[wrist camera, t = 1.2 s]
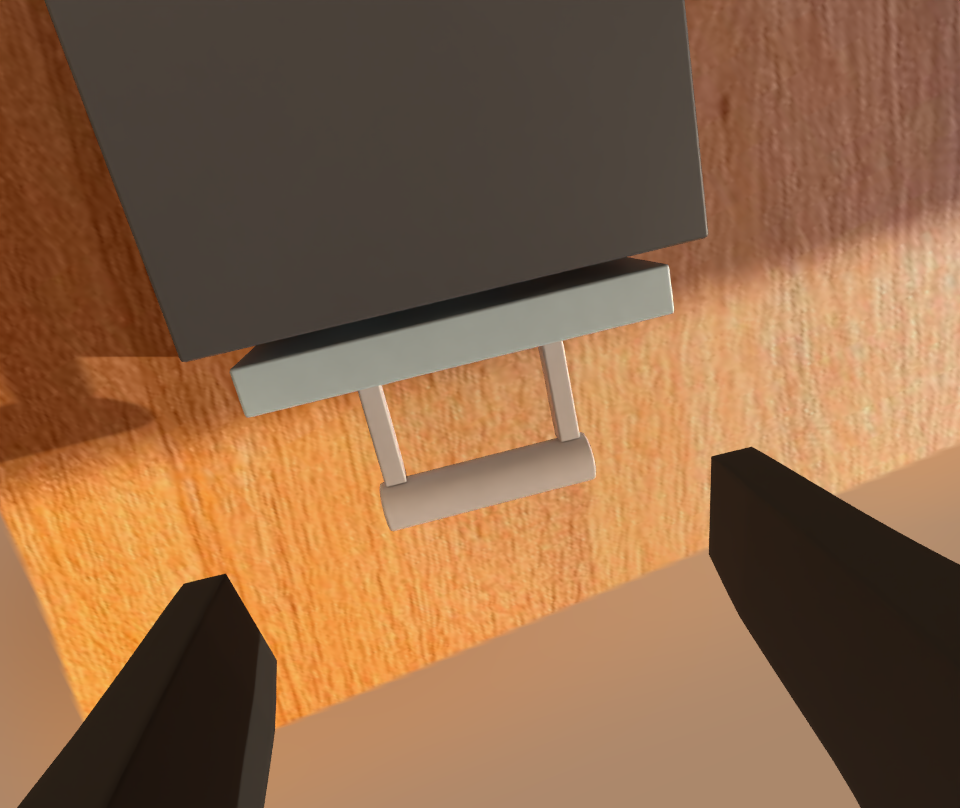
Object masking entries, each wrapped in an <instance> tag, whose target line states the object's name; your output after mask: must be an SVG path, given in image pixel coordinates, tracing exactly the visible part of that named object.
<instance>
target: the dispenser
mask: <svg viewBox="0 0 960 808" xmlns="http://www.w3.org/2000/svg"><path fill="white" fill-rule="evenodd" d="M44 1H45V3H46V6H47V9H48V11H49V14H50V16H51V19H52V22H53V24H54V27H55V30H56V32H57V35H58V38H59V40H60V43H61V46H62V48H63V51H64V54H65V56H66V59H67V61H68V64H69V67H70V69H71V72H72V75H73V77H74V80H75V83H76V85H77V88H78V91H79V93H80V96H81V99H82V101H83V104H84V106H85V109H86V112H87V114H88V117H89V120H90V122H91V125H92V128H93V130H94V133H95V136H96V138H97V141H98V144H99V146H100V149H101V152H102V154H103V157H104V159H105V162H106V165H107V167H108V170H109V173H110V175H111V178H112V181H113V183H114V186H115V189H116V191H117V194H118V197H119V199H120V202H121V204H122V207H123V210H124V212H125V215H126V218H127V220H128V223H129V226H130V228H131V231H132V234H133V236H134V239H135V242H136V244H137V247H138V249H139V252H140V255H141V257H142V260H143V263H144V265H145V268H146V271H147V273H148V276H149V279H150V281H151V284H152V287H153V289H154V292H155V295H156V297H157V300H158V302H159V305H160V308H161V310H162V313H163V316H164V318H165V321H166V324H167V326H168V329H169V332H170V334H171V337H172V340H173V342H174V345H175V347H176V350H177V353H178V355H179V358H180V360H181V361H182V362H189V361H193V360H197V359H201V358H205V357H210V356H214V355H218V354H222V353H226V352H230V351H235V350H239V349H243V348H247V347H251V346H256V345H260V344H264V343H268V342H272V341H276V340H281V339H285V338H289V337H293V336H297V335H302V334H306V333H310V332H314V331H318V330H322V329H327V328H331V327H335V326H339V325H343V324H348V323H352V322H356V321H360V320H364V319H368V318H373V317H377V316H381V315H385V314H389V313H394V312H398V311H402V310H406V309H410V308H414V307H419V306H423V305H427V304H431V303H435V302H440V301H444V300H448V299H452V298H456V297H460V296H465V295H469V294H473V293H477V292H481V291H486V290H490V289H494V288H498V287H502V286H506V285H511V284H515V283H519V282H523V281H527V280H532V279H536V278H540V277H544V276H548V275H553V274H557V273H561V272H565V271H569V270H573V269H578V268H582V267H586V266H590V265H594V264H599V263H603V262H607V261H611V260H615V259H619V258H624V257H628V256H632V255H636V254H640V253H645V252H649V251H653V250H657V249H661V248H665V247H670V246H674V245H678V244H682V243H686V242H691V241H695V240H699V239H703V238H705V237H707V236H708V227H707V217H706V207H705V197H704V187H703V178H702V168H701V158H700V148H699V138H698V129H697V119H696V109H695V99H694V89H693V80H692V70H691V60H690V50H689V40H688V31H687V21H686V11H685V1H684V0H44Z"/></svg>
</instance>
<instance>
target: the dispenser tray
mask: <svg viewBox="0 0 960 808" xmlns="http://www.w3.org/2000/svg"><path fill="white" fill-rule="evenodd" d="M672 313H674V304H673V296H672V288H671V279H670V271H669V266H668V265H667V264H662V263H656V262H651V261H645V260H640V259H634V258H628V257H624V258H619V259H615V260H611V261H607V262H603V263H599V264H594V265H590V266H586V267H582V268H578V269H573V270H569V271H565V272H561V273H557V274H553V275H548V276H544V277H540V278H536V279H532V280H527V281H523V282H519V283H515V284H511V285H506V286H502V287H498V288H494V289H490V290H486V291H481V292H477V293H473V294H469V295H465V296H460V297H456V298H452V299H448V300H444V301H440V302H435V303H431V304H427V305H423V306H419V307H414V308H410V309H406V310H402V311H398V312H394V313H389V314H385V315H381V316H377V317H373V318H368V319H364V320H360V321H356V322H352V323H348V324H343V325H339V326H335V327H331V328H327V329H322V330H318V331H314V332H310V333H306V334H302V335H297V336H293V337H289V338H285V339H281V340H276V341H272V342H268V343H264V344H260V345H256V346H255V347H254V348H253V349H252V350H251V351H250V352H249V353H248V354H247V355H245V356H244V357H243V358H242V359H241V360H240V361H239V362H238V363H237V364H236V365H235V366H234V367H233V368H232V369H230V374H231V377H232V380H233V383H234V386H235V389H236V391H237V394H238V397H239V400H240V403H241V405H242V408H243V411H244V414H245V416H246V417H254V416H258V415H262V414H266V413H270V412H274V411H278V410H282V409H286V408H290V407H294V406H298V405H302V404H306V403H311V402H315V401H319V400H323V399H327V398H331V397H335V396H339V395H343V394H347V393H351V392H355V391H358V393H359V397H360V400H361V404H362V407H363V410H364V414H365V417H366V421H367V424H368V428H369V431H370V434H371V438H372V441H373V445H374V448H375V452H376V455H377V458H378V462H379V465H380V469H381V472H382V476H383V479H384V482H383V483H381V484H380V497H381V502H382V507H383V511H384V515H385V518H386V521H387V524H388V526H389V528H390V530H391V531H396V530H400V529H404V528H408V527H411V526H415V525H419V524H423V523H427V522H431V521H435V520H438V519H442V518H446V517H450V516H454V515H458V514H461V513H465V512H469V511H473V510H477V509H481V508H485V507H488V506H492V505H496V504H500V503H504V502H508V501H512V500H515V499H519V498H523V497H527V496H531V495H535V494H539V493H542V492H546V491H550V490H554V489H558V488H562V487H565V486H569V485H573V484H577V483H581V482H585V481H589V480H592V479H594V478H595V477H596V465H595V460H594V456H593V452H592V449H591V446H590V444H589V441H588V439H587V437H586V436H585V434H584V433H581V432H579V428H578V422H577V417H576V411H575V406H574V400H573V395H572V389H571V384H570V378H569V373H568V367H567V362H566V356H565V351H564V345H563V340H567V339H571V338H575V337H579V336H583V335H587V334H591V333H596V332H600V331H604V330H608V329H612V328H616V327H620V326H624V325H628V324H632V323H636V322H640V321H644V320H648V319H652V318H657V317H661V316H665V315H669V314H672ZM534 347H538V348H539V353H540V358H541V363H542V368H543V373H544V379H545V384H546V389H547V394H548V399H549V404H550V410H551V415H552V420H553V425H554V430H555V435H556V436H557V438H555V439H551V440H548V441H544V442H540V443H536V444H532V445H528V446H524V447H520V448H516V449H512V450H508V451H504V452H500V453H497V454H493V455H489V456H485V457H481V458H477V459H473V460H469V461H465V462H461V463H457V464H453V465H449V466H445V467H442V468H438V469H434V470H430V471H426V472H422V473H418V474H414V475H410V476H406V470H405V467H404V463H403V460H402V456H401V452H400V449H399V445H398V442H397V438H396V434H395V431H394V427H393V424H392V420H391V417H390V413H389V409H388V406H387V402H386V399H385V395H384V391H383V388H382V385H384V384H388V383H392V382H396V381H400V380H404V379H408V378H412V377H416V376H420V375H425V374H429V373H433V372H437V371H441V370H445V369H449V368H453V367H457V366H461V365H465V364H469V363H473V362H477V361H482V360H486V359H490V358H494V357H498V356H502V355H506V354H510V353H514V352H518V351H522V350H526V349H530V348H534Z"/></svg>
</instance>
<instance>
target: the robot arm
mask: <svg viewBox="0 0 960 808" xmlns="http://www.w3.org/2000/svg"><path fill="white" fill-rule="evenodd" d="M709 555H710V557H711V559H712V562H713V563H714V566H715V568H716V570H717V572H718V574H719V576H720V578H721V580H722V583H723V584H724V587H725V589H726V590H727V593H728V595H729V597H730V598H731V600H732V603H733V604H734V606H735V608H736V610H737V612H738V614H739V616H740V618H741V619H742V621H743V623H744V624H745V626H746V627H747V629H748V630H749V632H750V634H751V635H752V637H753V638H754V640H755V641H756V643H757V644H758V646H759V648H760V649H761V651H762V652H763V654H764V655H765V657H766V658H767V660H768V661H769V663H770V665H771V666H772V668H773V669H774V671H775V672H776V674H777V675H778V677H779V678H780V680H781V682H782V683H783V685H784V686H785V688H786V689H787V691H788V692H789V694H790V695H791V697H792V698H793V700H794V701H795V703H796V704H797V706H798V707H799V709H800V711H801V712H802V714H803V715H804V717H805V718H806V720H807V721H808V723H809V724H810V726H811V727H812V729H813V730H814V732H815V734H816V735H817V737H818V738H819V740H820V741H821V743H822V744H823V746H824V747H825V749H826V750H827V752H828V753H829V755H830V757H831V758H832V760H833V761H834V763H835V765H836V766H837V768H838V769H839V771H840V773H841V774H842V776H843V778H844V780H845V781H846V783H847V784H848V786H849V788H850V789H851V791H852V793H853V794H854V796H855V798H856V800H857V801H858V804H859V805H860V807H861V808H960V565H959V564H957V563H955V562H953V561H951V560H949V559H947V558H946V557H943V556H942V555H940V554H938V553H936V552H934V551H932V550H930V549H928V548H927V547H925V546H923V545H921V544H919V543H917V542H915V541H914V540H912V539H910V538H908V537H906V536H904V535H903V534H901V533H899V532H897V531H895V530H893V529H891V528H890V527H888V526H886V525H885V524H883V523H881V522H879V521H878V520H876V519H874V518H872V517H871V516H869V515H867V514H865V513H863V512H862V511H860V510H858V509H856V508H855V507H853V506H851V505H850V504H848V503H846V502H845V501H843V500H841V499H839V498H838V497H836V496H834V495H833V494H831V493H829V492H828V491H826V490H824V489H823V488H821V487H819V486H817V485H816V484H814V483H812V482H811V481H809V480H807V479H806V478H804V477H802V476H801V475H799V474H797V473H796V472H794V471H792V470H791V469H789V468H787V467H786V466H784V465H782V464H781V463H779V462H777V461H776V460H774V459H772V458H770V457H769V456H767V455H765V454H764V453H762V452H760V451H758V450H757V449H755V448H753V447H749V448H745V449H741V450H736V451H732V452H728V453H724V454H720V455H716V456H712V457H711V494H710V533H709ZM276 673H277V660H276V658H275V657H274V655H273V653H272V651H271V650H270V648H269V646H268V645H267V643H266V641H265V640H264V638H263V636H262V634H261V633H260V631H259V629H258V628H257V626H256V624H255V623H254V621H253V619H252V617H251V616H250V614H249V612H248V611H247V609H246V607H245V606H244V604H243V602H242V600H241V599H240V597H239V595H238V594H237V592H236V590H235V588H234V587H233V585H232V583H231V582H230V580H229V578H228V577H227V575H226V574H222V575H218V576H214V577H210V578H206V579H201V580H197V581H193V582H189V583H185V584H183V586H182V587H181V588H180V590H179V591H178V592H177V594H176V595H175V596H174V597H173V599H172V600H171V602H170V603H169V604H168V606H167V607H166V608H165V610H164V611H163V613H162V614H161V615H160V617H159V618H158V620H157V621H156V622H155V624H154V625H153V627H152V628H151V629H150V631H149V632H148V634H147V635H146V636H145V638H144V639H143V641H142V642H141V643H140V645H139V646H138V648H137V649H136V650H135V652H134V653H133V655H132V656H131V657H130V659H129V660H128V662H127V663H126V665H125V666H124V667H123V669H122V670H121V671H120V673H119V674H118V676H117V677H116V678H115V680H114V681H113V682H112V684H111V685H110V687H109V688H108V689H107V691H106V692H105V693H104V695H103V696H102V698H101V699H100V700H99V702H98V703H97V704H96V706H95V707H94V708H93V710H92V711H91V713H90V714H89V715H88V717H87V718H86V719H85V721H84V722H83V724H82V725H81V726H80V728H79V729H78V730H77V732H76V733H75V734H74V736H73V737H72V738H71V740H70V741H69V742H68V743H67V745H66V746H65V747H64V748H63V750H62V751H61V752H60V754H59V755H58V756H57V757H56V759H55V760H54V761H53V763H52V764H51V765H50V766H49V768H48V769H47V770H46V772H45V773H44V774H43V775H42V777H41V778H40V779H39V780H38V782H37V783H36V784H35V785H34V787H33V788H32V789H31V791H30V792H29V793H28V794H27V796H26V797H25V798H24V800H23V801H22V802H21V803H20V805H19V806H18V807H17V808H264V803H265V796H266V789H267V783H268V776H269V768H270V762H271V755H272V748H273V741H274V733H275V714H276Z"/></svg>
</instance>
